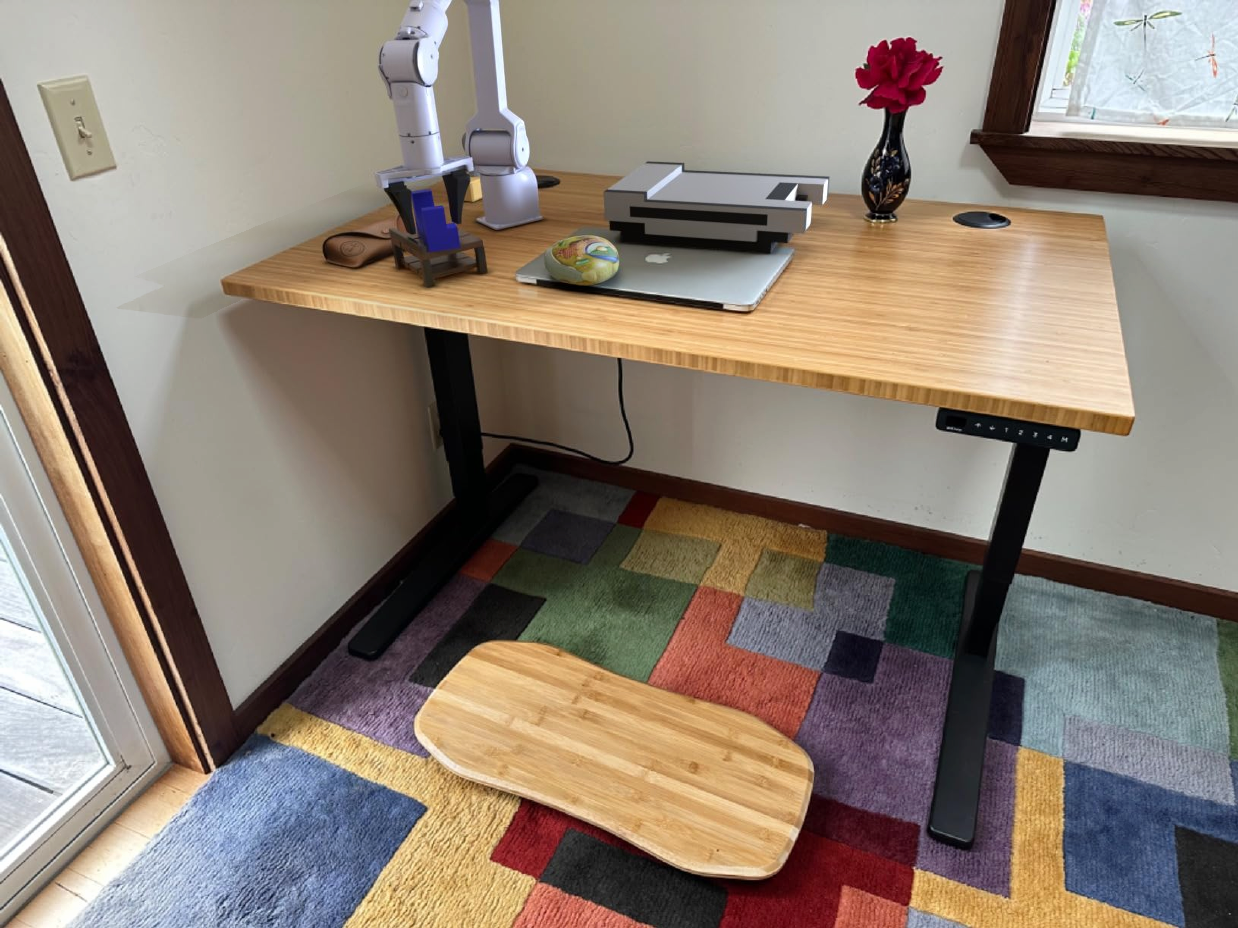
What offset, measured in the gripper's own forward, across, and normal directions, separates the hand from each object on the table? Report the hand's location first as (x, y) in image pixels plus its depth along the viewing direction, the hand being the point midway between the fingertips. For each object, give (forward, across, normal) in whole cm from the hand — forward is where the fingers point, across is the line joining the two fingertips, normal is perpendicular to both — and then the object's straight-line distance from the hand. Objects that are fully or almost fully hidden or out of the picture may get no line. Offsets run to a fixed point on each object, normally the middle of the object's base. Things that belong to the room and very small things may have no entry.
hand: (434, 227), depth 130 cm
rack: (+7, 0, 0) cm, 7 cm away
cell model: (+7, +15, -18) cm, 24 cm away
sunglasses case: (+7, -3, +16) cm, 18 cm away
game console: (+7, +44, -14) cm, 47 cm away
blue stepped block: (+2, 0, -1) cm, 2 cm away
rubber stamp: (+7, +25, +37) cm, 45 cm away
